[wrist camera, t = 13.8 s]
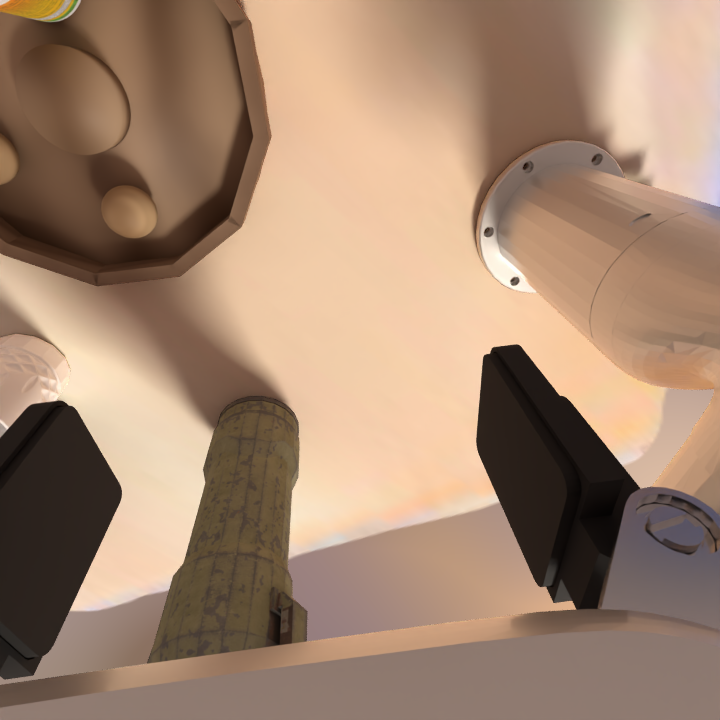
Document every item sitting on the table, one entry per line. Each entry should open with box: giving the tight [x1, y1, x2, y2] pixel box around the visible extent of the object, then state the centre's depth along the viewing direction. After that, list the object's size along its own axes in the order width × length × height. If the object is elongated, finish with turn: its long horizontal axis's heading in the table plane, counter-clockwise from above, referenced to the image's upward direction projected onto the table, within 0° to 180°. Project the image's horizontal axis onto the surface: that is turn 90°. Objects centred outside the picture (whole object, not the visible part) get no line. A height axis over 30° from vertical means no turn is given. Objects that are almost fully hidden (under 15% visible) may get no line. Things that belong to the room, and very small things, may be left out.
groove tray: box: [0, 0, 271, 286], centre depth 28 cm, size 24×24×3 cm
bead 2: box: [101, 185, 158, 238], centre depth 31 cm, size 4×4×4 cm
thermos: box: [147, 396, 307, 664], centre depth 32 cm, size 9×12×35 cm
